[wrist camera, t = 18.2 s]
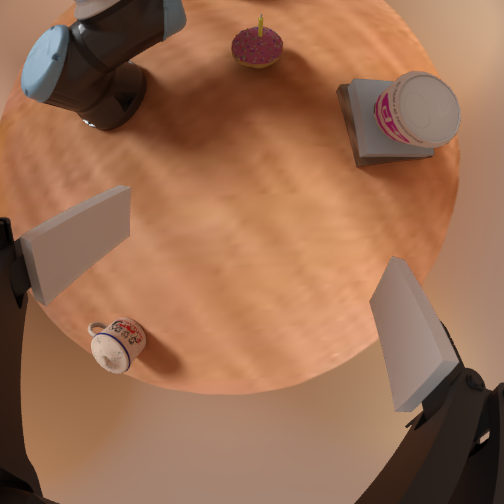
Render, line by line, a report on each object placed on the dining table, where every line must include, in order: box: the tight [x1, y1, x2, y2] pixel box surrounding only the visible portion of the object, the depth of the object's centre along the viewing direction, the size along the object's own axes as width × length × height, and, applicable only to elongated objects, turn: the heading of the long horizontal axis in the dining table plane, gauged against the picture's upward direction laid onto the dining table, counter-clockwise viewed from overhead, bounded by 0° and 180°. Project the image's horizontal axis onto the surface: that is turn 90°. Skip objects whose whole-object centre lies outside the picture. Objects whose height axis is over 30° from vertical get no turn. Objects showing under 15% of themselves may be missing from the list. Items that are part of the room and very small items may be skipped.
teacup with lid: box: [88, 317, 146, 374], centre depth 47 cm, size 12×9×12 cm
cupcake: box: [232, 14, 283, 68], centre depth 33 cm, size 9×8×12 cm
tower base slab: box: [336, 84, 432, 167], centre depth 38 cm, size 14×14×4 cm
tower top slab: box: [348, 79, 434, 157], centre depth 34 cm, size 12×12×4 cm
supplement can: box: [373, 71, 461, 148], centre depth 25 cm, size 8×8×15 cm
